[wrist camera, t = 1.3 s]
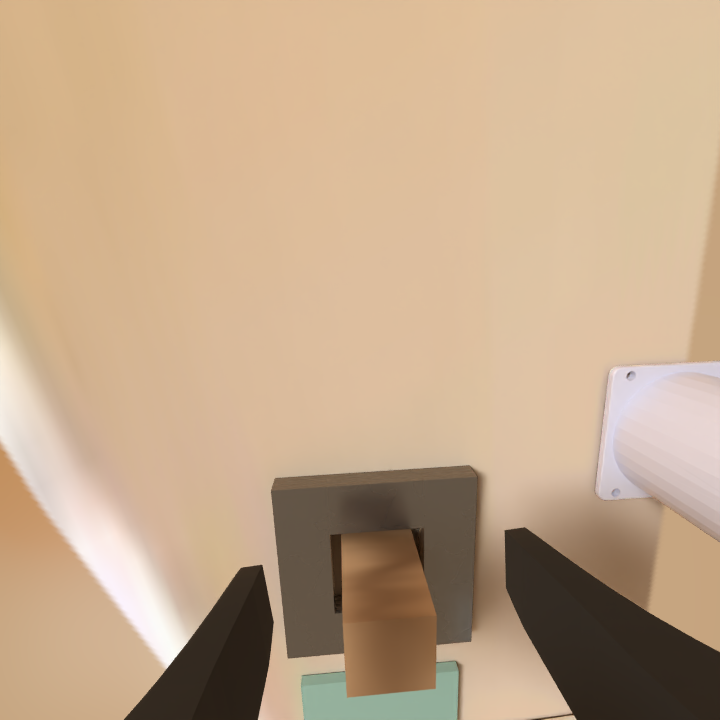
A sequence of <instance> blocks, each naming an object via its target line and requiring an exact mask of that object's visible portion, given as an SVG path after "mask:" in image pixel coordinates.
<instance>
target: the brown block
mask: <svg viewBox="0 0 720 720" xmlns="http://www.w3.org/2000/svg"><path fill="white" fill-rule="evenodd" d="M341 555H342V614H343V638H344V656H345V674H346V691H347V698H349V697H359V696H369V695H379V694H389V693H399V692H409V691H419V690H429V689H436V632H437V615H436V612H435V608H434V605H433V602H432V598H431V595H430V592H429V588H428V585H427V582H426V578H425V575H424V572H423V568H422V565H421V562H420V558H419V555H418V552H417V548H416V545H415V542H414V538H413V535H412V532H411V529H401V530H388V531H374V532H361V533H348V534H341Z"/></svg>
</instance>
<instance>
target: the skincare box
mask: <svg viewBox="0 0 720 720" xmlns="http://www.w3.org/2000/svg"><path fill="white" fill-rule="evenodd" d="M543 720H576V718H575V716H574V715H570V716H563V717H556V718H549V719H543Z"/></svg>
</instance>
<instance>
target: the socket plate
mask: <svg viewBox="0 0 720 720" xmlns="http://www.w3.org/2000/svg"><path fill="white" fill-rule="evenodd" d="M271 495H272V505H273V515H274V525H275V535H276V545H277V555H278V565H279V575H280V585H281V595H282V605H283V615H284V625H285V635H286V645H287V655H288V658H299V657H309V656H320V655H331V654H342V653H344V638H343V614H342V595H338V596H335V591H334V575H333V559H332V543H331V535H334V534H348V533H361V532H374V531H388V530H401V529H414V528H419V558H420V562H421V565H422V568H423V572H424V575H425V578H426V582H427V585H428V588H429V592H430V595H431V598H432V602H433V605H434V608H435V612H436V615H437V632H436V645H439V644H449V643H460V642H471V634H472V607H473V581H474V554H475V528H476V501H477V475H476V474H475V473H474V471H473V470H472V468H471V467H470V466H455V467H440V468H424V469H409V470H394V471H379V472H364V473H349V474H333V475H318V476H303V477H288V478H275V480H274V483H273V486H272V489H271Z"/></svg>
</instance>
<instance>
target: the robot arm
mask: <svg viewBox="0 0 720 720" xmlns="http://www.w3.org/2000/svg"><path fill="white" fill-rule="evenodd" d="M629 372H630V375H629V377H628V378H627V377H626V376H627V374H628V373H629ZM614 489H615V490H614ZM613 490H614V491H613ZM612 491H613V492H612ZM595 494H596V495H597V496H598V497H599V498H600V499H602V500H620V499H633V498H647V497H654V498H655V499H657V500H658V501H660V502H661V503H663V504H664V505H666V506H667V507H669V508H670V509H672V510H673V511H675V512H676V513H677V514H679V515H680V516H682V517H683V518H685V519H686V520H688V521H689V522H691V523H692V524H694V525H695V526H697V527H698V528H700V529H701V530H702V531H704V532H705V533H707V534H708V535H710V536H711V537H713V538H714V539H716V540H717V541H719V542H720V361H707V362H686V363H666V364H647V365H628V366H616V367H614V368H612V369H611V371H610V372H609V375H608V384H607V392H606V401H605V410H604V418H603V427H602V435H601V444H600V452H599V461H598V470H597V478H596V487H595ZM505 563H506V589H507V591H508V593H509V596H510V598H511V600H512V603H513V605H514V607H515V610H516V612H517V614H518V616H519V618H520V620H521V623H522V625H523V627H524V629H525V630H526V632H527V634H528V636H529V638H530V639H531V641H532V643H533V645H534V646H535V648H536V650H537V652H538V654H539V655H540V657H541V659H542V661H543V662H544V664H545V666H546V668H547V669H548V671H549V673H550V674H551V676H552V678H553V680H554V681H555V683H556V685H557V687H558V688H559V690H560V692H561V694H562V695H563V697H564V699H565V701H566V702H567V704H568V706H569V708H570V709H571V711H572V713H573V714H574V716H575V718H576V720H720V652H718V651H716V650H714V649H713V648H711V647H709V646H707V645H705V644H703V643H701V642H700V641H698V640H695V639H694V638H692V637H691V636H689V635H687V634H685V633H683V632H682V631H680V630H678V629H676V628H675V627H673V626H671V625H669V624H668V623H666V622H664V621H662V620H660V619H659V618H657V617H655V616H654V615H652V614H650V613H649V612H647V611H645V610H644V609H642V608H641V607H639V606H637V605H636V604H634V603H633V602H631V601H630V600H628V599H626V598H625V597H623V596H622V595H620V594H619V593H617V592H615V591H614V590H612V589H611V588H609V587H608V586H606V585H605V584H603V583H602V582H600V581H599V580H597V579H596V578H595V577H593V576H592V575H590V574H589V573H587V572H586V571H584V570H583V569H582V568H580V567H579V566H577V565H576V564H575V563H573V562H572V561H570V560H569V559H568V558H566V557H565V556H563V555H562V554H561V553H559V552H558V551H557V550H555V549H554V548H552V547H551V546H550V545H548V544H547V543H546V542H544V541H543V540H542V539H540V538H539V537H537V536H536V535H535V534H533V533H532V532H531V531H529V530H528V529H526V528H518V529H511V530H505ZM273 623H274V622H273V617H272V612H271V607H270V602H269V597H268V591H267V586H266V581H265V576H264V571H263V566H262V565H257V566H250V567H243V568H241V569H240V570H239V571H238V572H237V574H236V575H235V577H234V578H233V580H232V581H231V582H230V584H229V585H228V587H227V588H226V590H225V591H224V593H223V594H222V596H221V597H220V598H219V600H218V601H217V603H216V604H215V606H214V607H213V608H212V610H211V611H210V613H209V614H208V615H207V617H206V618H205V619H204V621H203V622H202V624H201V625H200V626H199V628H198V629H197V630H196V632H195V633H194V635H193V636H192V637H191V639H190V640H189V641H188V643H187V644H186V645H185V647H184V648H183V649H182V650H181V652H180V653H179V654H178V655H177V657H176V658H175V659H174V660H173V662H172V663H171V664H170V666H169V667H168V668H167V669H166V671H165V672H164V673H163V675H162V676H161V677H160V678H159V679H158V681H157V682H156V683H155V684H154V685H153V687H152V688H151V689H150V690H149V691H148V693H147V694H146V695H145V696H144V697H143V698H142V700H141V701H140V702H139V703H138V704H137V705H136V707H135V708H134V709H133V710H132V711H131V712H130V714H128V716H127V717H126V718H125V719H124V720H258V716H259V711H260V706H261V701H262V697H263V692H264V687H265V682H266V677H267V672H268V667H269V660H270V652H271V643H272V633H273Z"/></svg>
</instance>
